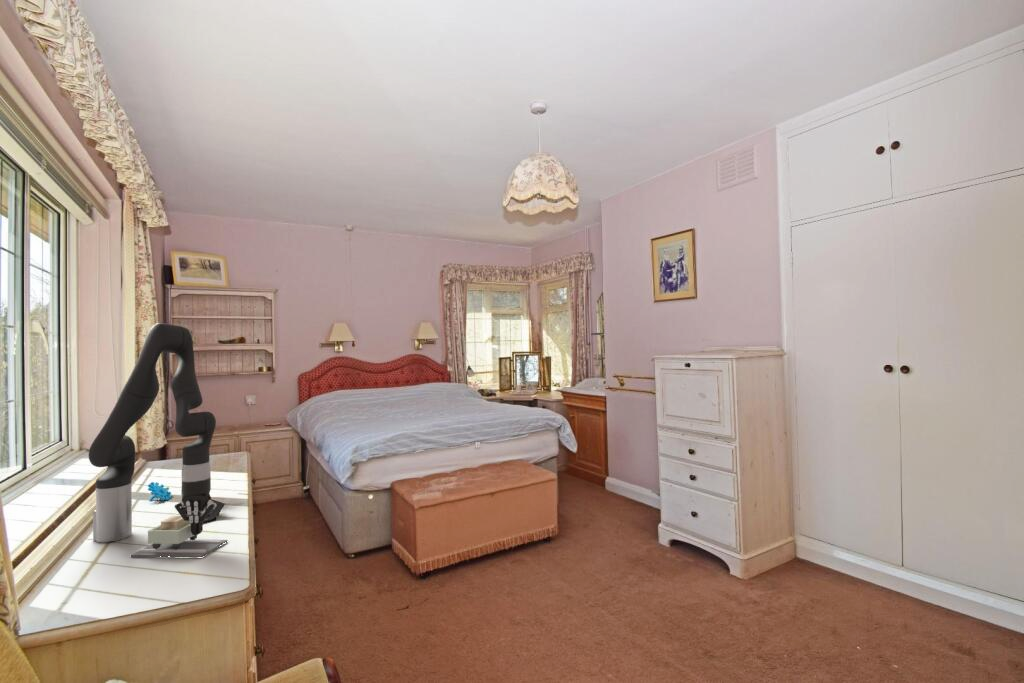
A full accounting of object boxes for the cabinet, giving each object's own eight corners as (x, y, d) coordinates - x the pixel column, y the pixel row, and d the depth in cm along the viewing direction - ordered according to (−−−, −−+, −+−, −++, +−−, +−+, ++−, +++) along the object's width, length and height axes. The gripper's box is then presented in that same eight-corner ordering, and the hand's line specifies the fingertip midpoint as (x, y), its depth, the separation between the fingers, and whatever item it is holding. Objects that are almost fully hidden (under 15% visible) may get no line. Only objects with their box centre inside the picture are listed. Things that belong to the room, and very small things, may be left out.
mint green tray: (148, 550, 148) (147, 530, 149) (172, 537, 158) (172, 519, 158) (178, 550, 148) (178, 531, 148) (200, 538, 157) (200, 519, 157)
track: (130, 557, 148) (130, 552, 148) (161, 541, 160) (161, 537, 160) (201, 558, 146) (201, 553, 146) (227, 542, 158) (227, 537, 158)
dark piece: (178, 517, 178) (197, 491, 183) (193, 524, 183) (211, 498, 189) (198, 526, 173) (217, 499, 178) (213, 533, 179) (231, 506, 184)
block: (161, 538, 151) (160, 521, 151) (173, 531, 156) (173, 515, 156) (176, 538, 150) (176, 521, 150) (188, 532, 155) (188, 516, 155)
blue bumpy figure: (162, 499, 199) (145, 482, 200) (150, 511, 198) (133, 493, 199) (178, 495, 210) (162, 478, 211) (167, 506, 209) (151, 489, 210)
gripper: (224, 474, 156) (225, 529, 156) (184, 474, 157) (185, 529, 157) (208, 480, 149) (209, 539, 148) (166, 480, 149) (167, 538, 149)
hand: (196, 533), depth 153 cm, fingers closed
